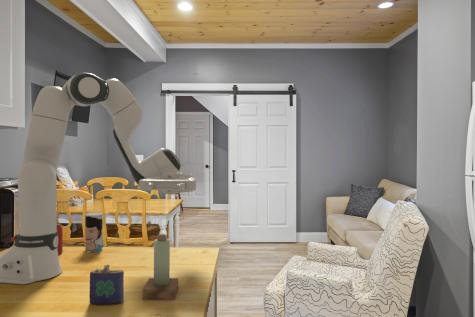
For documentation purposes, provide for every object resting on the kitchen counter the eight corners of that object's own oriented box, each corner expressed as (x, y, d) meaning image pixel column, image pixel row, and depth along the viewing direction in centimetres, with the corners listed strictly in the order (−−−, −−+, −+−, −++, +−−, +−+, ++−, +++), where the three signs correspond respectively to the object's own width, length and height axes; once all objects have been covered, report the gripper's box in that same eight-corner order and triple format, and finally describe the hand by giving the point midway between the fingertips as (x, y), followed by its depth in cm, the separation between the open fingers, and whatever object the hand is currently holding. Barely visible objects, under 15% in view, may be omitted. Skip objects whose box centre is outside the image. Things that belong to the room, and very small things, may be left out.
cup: (84, 248, 157) (84, 213, 156) (101, 246, 160) (101, 212, 159) (86, 252, 151) (86, 216, 150) (103, 250, 154) (103, 214, 153)
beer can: (55, 256, 145) (55, 226, 145) (40, 255, 146) (40, 225, 146) (66, 251, 152) (66, 222, 151) (51, 250, 153) (51, 221, 152)
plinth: (142, 299, 106) (142, 289, 106) (149, 287, 115) (149, 278, 115) (174, 299, 106) (174, 289, 106) (178, 287, 115) (178, 278, 115)
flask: (124, 300, 106) (124, 263, 105) (122, 304, 103) (122, 266, 102) (91, 301, 105) (90, 263, 104) (87, 305, 102) (87, 267, 101)
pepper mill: (152, 286, 108) (152, 235, 108) (155, 280, 113) (155, 231, 112) (168, 286, 108) (168, 235, 108) (170, 280, 113) (170, 231, 112)
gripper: (143, 174, 140) (134, 177, 126) (197, 174, 141) (194, 177, 127) (143, 190, 140) (134, 195, 126) (197, 191, 141) (194, 196, 127)
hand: (164, 186), depth 127 cm, fingers open, 8 cm apart
